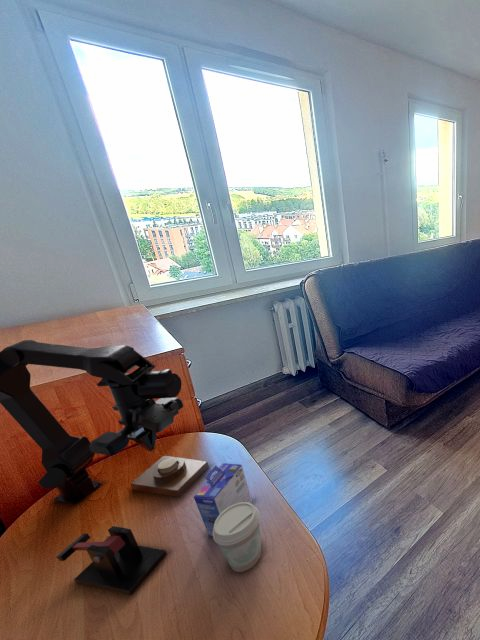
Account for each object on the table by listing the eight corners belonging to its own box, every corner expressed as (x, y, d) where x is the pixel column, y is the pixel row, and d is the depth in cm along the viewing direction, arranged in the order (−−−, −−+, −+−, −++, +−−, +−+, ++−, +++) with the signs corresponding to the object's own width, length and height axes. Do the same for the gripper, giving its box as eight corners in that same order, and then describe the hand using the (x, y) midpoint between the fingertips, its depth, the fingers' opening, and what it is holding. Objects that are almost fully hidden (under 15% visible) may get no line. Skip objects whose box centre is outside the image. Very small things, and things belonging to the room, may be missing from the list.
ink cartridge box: (233, 498, 85) (220, 454, 80) (253, 500, 84) (242, 456, 79) (205, 535, 76) (189, 488, 71) (228, 538, 75) (213, 490, 70)
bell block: (132, 489, 87) (128, 478, 86) (166, 461, 97) (162, 450, 95) (179, 497, 85) (175, 485, 84) (209, 467, 95) (205, 456, 93)
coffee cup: (222, 587, 66) (208, 546, 62) (224, 549, 73) (212, 509, 69) (269, 566, 70) (259, 526, 65) (266, 532, 77) (257, 493, 72)
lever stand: (75, 583, 66) (58, 553, 63) (116, 544, 74) (102, 516, 71) (131, 595, 65) (116, 565, 61) (167, 553, 72) (155, 525, 69)
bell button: (155, 472, 88) (153, 467, 87) (168, 461, 92) (167, 456, 91) (168, 474, 88) (167, 469, 87) (181, 463, 91) (179, 458, 91)
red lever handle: (61, 563, 68) (54, 554, 67) (88, 539, 72) (81, 531, 71) (107, 561, 64) (100, 553, 64) (132, 537, 69) (126, 528, 68)
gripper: (119, 428, 69) (142, 484, 74) (193, 381, 86) (207, 429, 91) (75, 421, 71) (101, 477, 76) (156, 376, 88) (173, 425, 93)
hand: (151, 450), depth 84 cm, fingers closed
